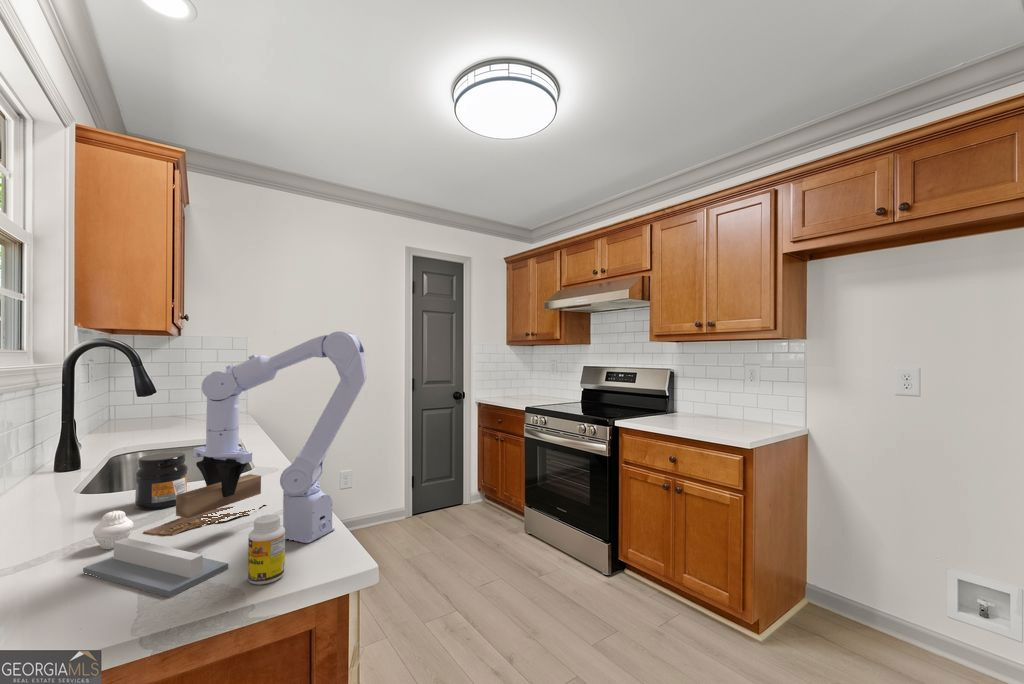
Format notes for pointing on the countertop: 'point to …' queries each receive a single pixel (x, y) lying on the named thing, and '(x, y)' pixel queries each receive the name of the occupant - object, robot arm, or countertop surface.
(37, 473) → the countertop surface
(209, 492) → the walnut batten
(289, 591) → the countertop surface
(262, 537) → the supplement bottle
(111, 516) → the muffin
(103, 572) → the balance stand
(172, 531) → the fossil skeleton slab
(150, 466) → the supplement container
